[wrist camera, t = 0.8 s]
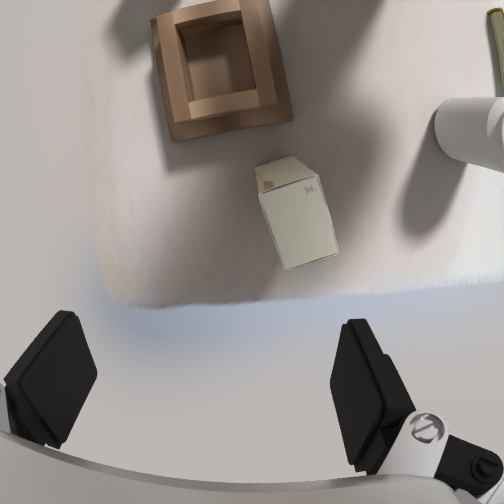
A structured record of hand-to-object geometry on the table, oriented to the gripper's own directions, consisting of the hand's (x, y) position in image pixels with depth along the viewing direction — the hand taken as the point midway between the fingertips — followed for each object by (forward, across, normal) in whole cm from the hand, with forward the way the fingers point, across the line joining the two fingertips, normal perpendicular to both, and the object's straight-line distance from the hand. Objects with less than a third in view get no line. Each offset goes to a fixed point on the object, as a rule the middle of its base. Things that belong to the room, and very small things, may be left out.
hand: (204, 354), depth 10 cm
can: (+24, -26, -10) cm, 37 cm away
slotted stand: (+24, +2, -14) cm, 28 cm away
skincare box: (+24, -5, -1) cm, 25 cm away
